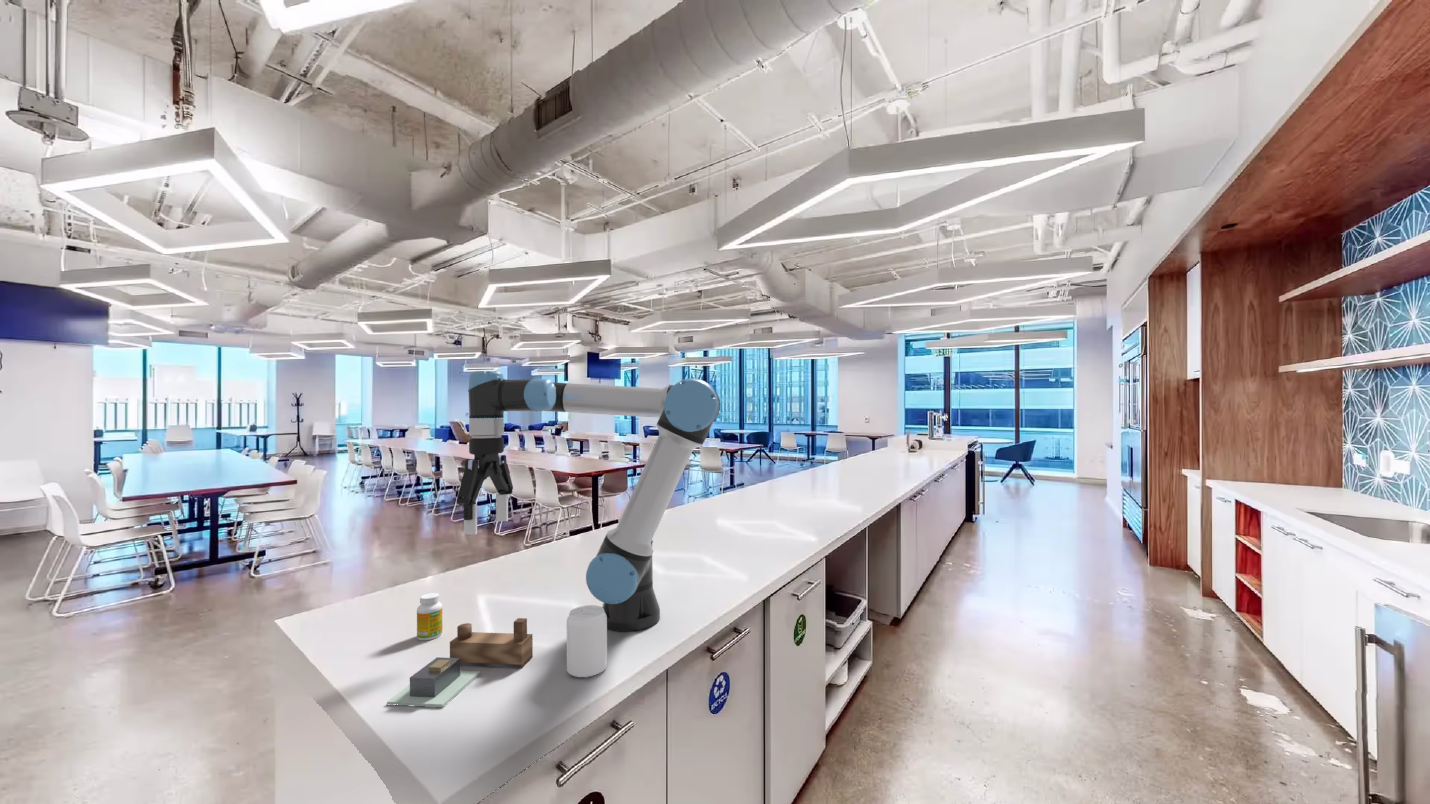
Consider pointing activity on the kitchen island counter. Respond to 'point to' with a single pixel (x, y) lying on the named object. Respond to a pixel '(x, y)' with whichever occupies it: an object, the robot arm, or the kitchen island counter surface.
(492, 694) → the kitchen island counter surface
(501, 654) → the hand plane
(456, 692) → the mat
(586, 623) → the beverage can
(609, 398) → the robot arm
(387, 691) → the kitchen island counter surface
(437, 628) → the supplement bottle
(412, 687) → the dark grey rectangular block
